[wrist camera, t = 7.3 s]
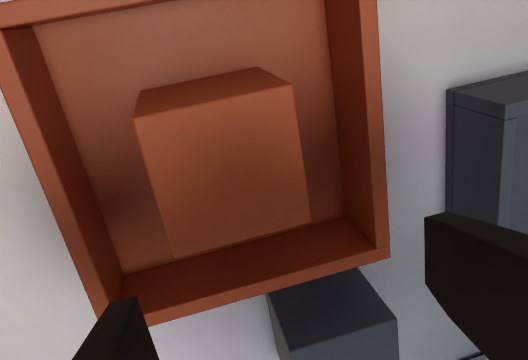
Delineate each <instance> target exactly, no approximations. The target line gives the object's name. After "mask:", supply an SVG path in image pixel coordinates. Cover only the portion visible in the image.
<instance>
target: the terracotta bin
mask: <svg viewBox="0 0 528 360" xmlns="http://www.w3.org/2000/svg"><path fill="white" fill-rule="evenodd" d="M253 67H260V68H262V69H264V70H266V71H268V72H270V73H272V74H273V75H275V76H277V77H279V78H281V79H283V80H285V81H287V82H289V83H290V84H292V86H293V91H294V98H295V105H296V112H297V120H298V127H299V134H300V141H301V148H302V156H303V163H304V170H305V177H306V184H307V191H308V199H309V206H310V213H311V222H310V223H306V224H302V225H298V226H295V227H291V228H287V229H283V230H280V231H276V232H272V233H268V234H265V235H261V236H257V237H253V238H250V239H246V240H242V241H238V242H234V243H231V244H227V245H223V246H219V247H216V248H212V249H208V250H204V251H201V252H197V253H193V254H189V255H186V256H182V257H178V258H174V257H173V255H172V252H171V248H170V245H169V242H168V238H167V235H166V232H165V228H164V225H163V222H162V219H161V215H160V212H159V209H158V205H157V202H156V199H155V196H154V192H153V189H152V186H151V182H150V179H149V176H148V172H147V169H146V166H145V163H144V159H143V156H142V153H141V149H140V146H139V143H138V140H137V136H136V133H135V130H134V126H133V123H132V118H133V114H134V111H135V107H136V104H137V101H138V97H139V94H140V91H142V90H147V89H152V88H156V87H161V86H166V85H171V84H176V83H181V82H185V81H190V80H195V79H200V78H205V77H210V76H214V75H219V74H224V73H229V72H234V71H239V70H243V69H248V68H253ZM0 89H1V91H2V93H3V96H4V98H5V100H6V103H7V105H8V108H9V110H10V112H11V115H12V117H13V119H14V122H15V124H16V127H17V129H18V131H19V134H20V136H21V139H22V141H23V143H24V146H25V148H26V150H27V153H28V155H29V158H30V160H31V162H32V165H33V167H34V169H35V172H36V174H37V177H38V179H39V181H40V184H41V186H42V188H43V191H44V193H45V196H46V198H47V200H48V203H49V205H50V208H51V210H52V212H53V215H54V217H55V219H56V222H57V224H58V227H59V229H60V231H61V234H62V236H63V238H64V241H65V243H66V246H67V248H68V250H69V253H70V255H71V258H72V260H73V262H74V265H75V267H76V269H77V272H78V274H79V277H80V279H81V281H82V284H83V286H84V288H85V291H86V293H87V296H88V298H89V300H90V303H91V305H92V307H93V310H94V312H95V315H96V317H97V319H99V318H100V316H101V315H102V313H103V312H104V310H105V309H106V307H107V306H108V304H109V303H111V302H115V301H118V300H122V299H126V298H129V297H133V296H137V299H138V301H139V304H140V307H141V310H142V313H143V316H144V318H145V321H146V324H147V327H150V326H153V325H157V324H160V323H164V322H167V321H171V320H174V319H178V318H181V317H185V316H188V315H192V314H195V313H199V312H202V311H206V310H209V309H213V308H216V307H220V306H223V305H227V304H230V303H234V302H237V301H240V300H244V299H247V298H251V297H254V296H258V295H261V294H265V293H268V292H272V291H275V290H279V289H282V288H286V287H289V286H293V285H296V284H300V283H303V282H307V281H310V280H314V279H317V278H321V277H324V276H328V275H331V274H335V273H338V272H341V271H345V270H348V269H352V268H355V267H359V266H362V265H366V264H369V263H373V262H376V261H380V260H383V259H387V258H390V246H389V245H390V237H389V218H388V200H387V181H386V163H385V145H384V126H383V108H382V90H381V71H380V53H379V35H378V16H377V0H13V1H7V2H1V3H0Z"/></svg>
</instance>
